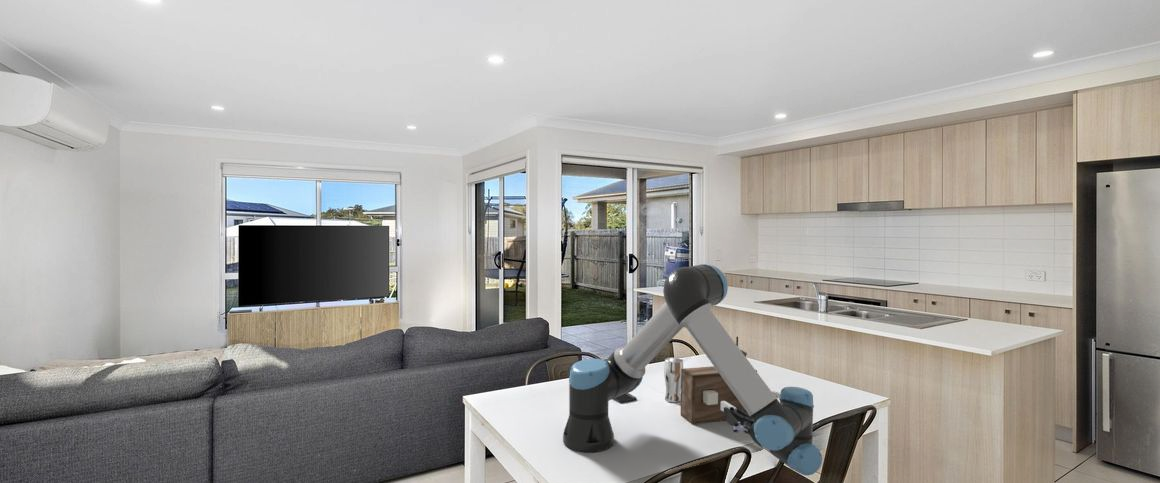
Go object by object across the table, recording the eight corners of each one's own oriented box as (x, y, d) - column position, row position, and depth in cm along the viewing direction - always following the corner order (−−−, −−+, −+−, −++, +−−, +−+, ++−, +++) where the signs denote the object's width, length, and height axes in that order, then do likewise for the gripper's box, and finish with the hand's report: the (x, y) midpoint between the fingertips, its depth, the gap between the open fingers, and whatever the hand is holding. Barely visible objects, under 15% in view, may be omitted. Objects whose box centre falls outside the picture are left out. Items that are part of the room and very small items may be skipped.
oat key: (717, 404, 164) (717, 393, 164) (707, 405, 163) (707, 393, 163) (708, 398, 170) (708, 387, 170) (698, 398, 169) (698, 388, 169)
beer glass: (686, 399, 189) (687, 359, 188) (676, 404, 184) (676, 363, 183) (670, 395, 193) (671, 356, 193) (660, 400, 188) (660, 359, 188)
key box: (756, 417, 172) (757, 370, 172) (691, 424, 166) (692, 375, 165) (742, 409, 180) (743, 364, 179) (680, 415, 174) (681, 368, 173)
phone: (615, 386, 201) (637, 398, 188) (615, 389, 201) (637, 401, 188) (598, 389, 197) (619, 401, 184) (598, 392, 197) (619, 404, 184)
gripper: (748, 452, 134) (703, 419, 157) (791, 447, 138) (740, 415, 160) (749, 424, 134) (704, 395, 156) (791, 419, 137) (741, 391, 160)
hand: (722, 405), depth 158 cm, fingers closed
